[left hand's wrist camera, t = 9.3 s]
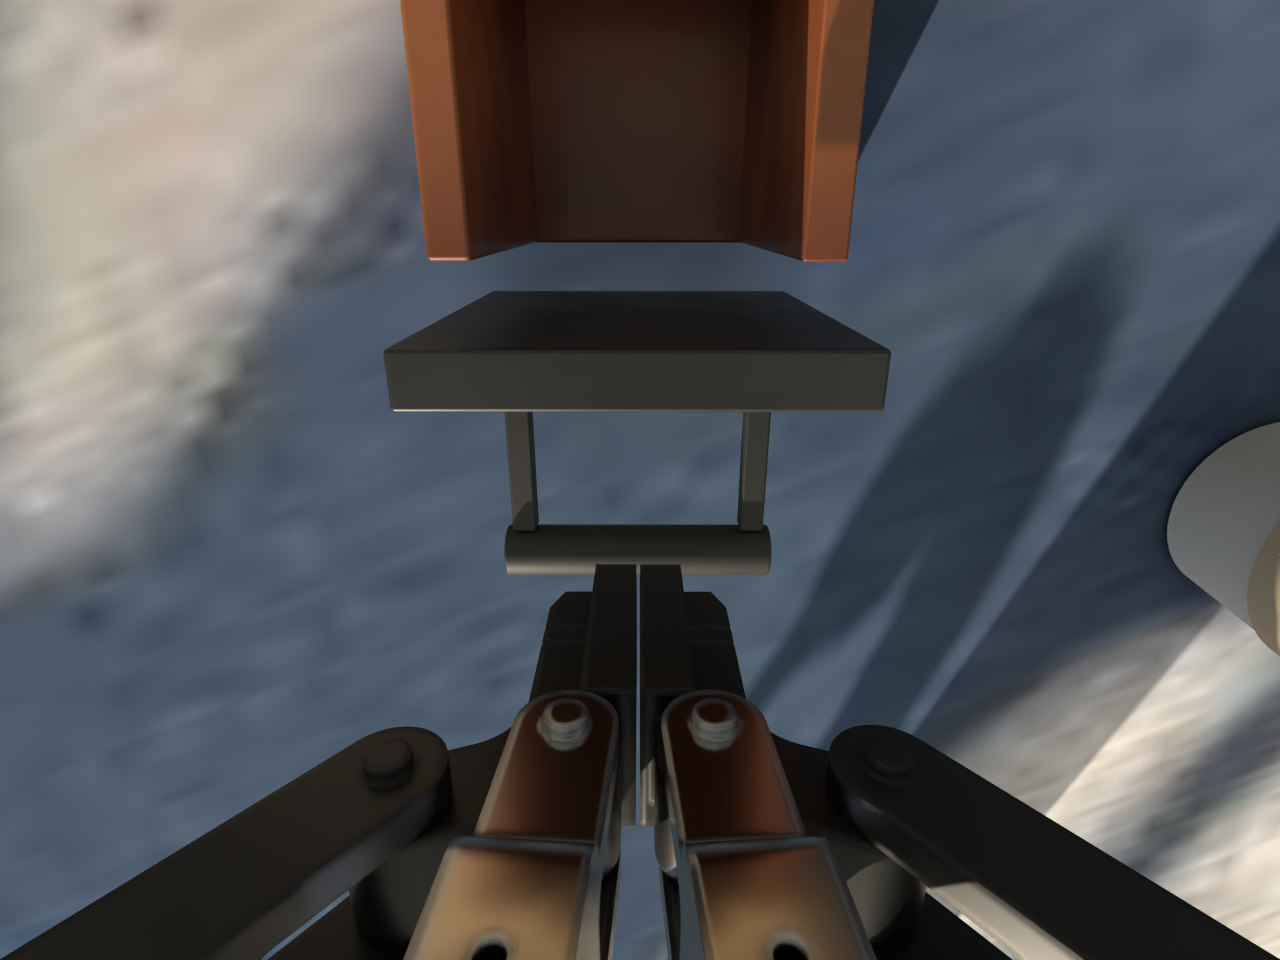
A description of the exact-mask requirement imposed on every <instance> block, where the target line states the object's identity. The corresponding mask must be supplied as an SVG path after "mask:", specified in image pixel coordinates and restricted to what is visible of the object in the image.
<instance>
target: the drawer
mask: <svg viewBox="0 0 1280 960" xmlns="http://www.w3.org/2000/svg"><path fill="white" fill-rule="evenodd" d="M400 3H401V13H402V22H403V32H404V41H405V51H406V60H407V70H408V79H409V89H410V99H411V108H412V118H413V127H414V137H415V146H416V156H417V165H418V175H419V184H420V194H421V203H422V213H423V222H424V232H425V241H426V251H427V257H428V259H429V260H431V261H470V260H473V259H477V258H481V257H484V256H488V255H491V254H495V253H498V252H502V251H505V250H509V249H512V248H516V247H519V246H523V245H526V244H530V243H533V242H741V243H745V244H748V245H751V246H755V247H758V248H761V249H765V250H768V251H771V252H775V253H778V254H782V255H785V256H788V257H792V258H795V259H798V260H802V261H805V262H845V261H847V259H848V250H849V240H850V230H851V221H852V211H853V201H854V192H855V182H856V172H857V163H858V153H859V143H860V134H861V124H862V115H863V105H864V95H865V86H866V76H867V66H868V57H869V47H870V37H871V28H872V18H873V8H874V0H400ZM383 355H384V362H385V370H386V377H387V385H388V392H389V400H390V407H391V409H392V411H395V412H505V423H506V436H507V450H508V464H509V478H510V492H511V506H512V520H513V525H509V527H508V529H507V532H506V537H505V566H506V570H507V573H508V574H510V575H595V568H596V564H636V575H640V564H680V565H681V573H682V575H767V574H768V572H769V569H770V564H771V539H770V533H769V529H768V527H767V526H766V525H763V516H764V502H765V488H766V474H767V460H768V446H769V432H770V417H771V412H880V411H883V408H884V403H885V395H886V388H887V380H888V372H889V365H890V357H891V352H890V350H889V349H887V348H885V347H883V346H882V345H880V344H878V343H876V342H874V341H872V340H871V339H869V338H867V337H865V336H863V335H862V334H860V333H858V332H856V331H854V330H853V329H851V328H849V327H847V326H845V325H843V324H842V323H840V322H838V321H836V320H834V319H833V318H831V317H829V316H827V315H825V314H823V313H822V312H820V311H818V310H816V309H814V308H813V307H811V306H809V305H807V304H805V303H804V302H802V301H800V300H798V299H796V298H794V297H793V296H791V295H789V294H787V293H785V292H783V291H493V292H491V293H489V294H487V295H485V296H484V297H482V298H480V299H478V300H476V301H474V302H472V303H471V304H469V305H467V306H465V307H463V308H461V309H459V310H458V311H456V312H454V313H452V314H450V315H448V316H446V317H445V318H443V319H441V320H439V321H437V322H435V323H433V324H432V325H430V326H428V327H426V328H424V329H422V330H420V331H419V332H417V333H415V334H413V335H411V336H409V337H407V338H406V339H404V340H402V341H400V342H398V343H396V344H394V345H392V346H391V347H389V348H387V349H385V350H384V353H383ZM532 412H743V428H742V445H741V463H740V481H739V499H738V517H737V522H738V525H538V522H539V518H538V500H537V483H536V465H535V448H534V430H533V413H532Z"/></svg>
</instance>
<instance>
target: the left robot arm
mask: <svg viewBox="0 0 1280 960" xmlns="http://www.w3.org/2000/svg"><path fill="white" fill-rule="evenodd" d="M636 684H637V576H636V564H596V568H595V576H594V584H593V592H565V593H564V594H563V595H562V596H561V597H560V598H559V599H558V600H557V601H556V602H555V603H554V604H553V605H552V606H551V607H550V611H549V615H548V620H547V624H546V630H545V633H544V637H543V645H542V646H541V651H540V655H539V659H538V664H537V668H536V673H535V677H534V681H533V686H532V690H531V694H530V699H529V703H527V704H526V705H525V706H524V707H523V708H522V709H521V710H520V711H519V713H518V714H517V716H516V718H515V720H514V722H513V725H512V727H511V728H509V729H508V730H506V731H505V732H504V733H502V734H500V735H498V736H496V737H494V738H492V739H489V740H487V741H484V742H480V743H477V744H473V745H469V746H465V747H461V748H457V749H453V750H447V747H446V744H445V743H444V741H443V740H442V739H441V738H440V737H439V736H438V735H437V734H435V733H433V732H431V731H429V730H426V729H423V728H418V727H395V728H390V729H385V730H382V731H378V732H375V733H373V734H370V735H368V736H366V737H364V738H362V739H360V740H358V741H357V742H355V743H353V744H352V745H350V746H349V747H347V748H345V749H344V750H342V751H340V752H339V753H337V754H335V755H334V756H332V757H331V758H329V759H327V760H326V761H324V762H322V763H321V764H319V765H317V766H316V767H314V768H312V769H311V770H309V771H308V772H306V773H304V774H303V775H301V776H299V777H298V778H296V779H294V780H293V781H291V782H290V783H288V784H286V785H285V786H283V787H281V788H280V789H278V790H276V791H275V792H273V793H272V794H270V795H268V796H267V797H265V798H263V799H262V800H260V801H258V802H257V803H255V804H254V805H252V806H250V807H249V808H247V809H245V810H244V811H242V812H240V813H239V814H237V815H236V816H234V817H232V818H231V819H229V820H227V821H226V822H224V823H222V824H221V825H219V826H218V827H216V828H214V829H213V830H211V831H209V832H208V833H206V834H204V835H203V836H201V837H200V838H198V839H196V840H195V841H193V842H191V843H190V844H188V845H186V846H185V847H183V848H182V849H180V850H178V851H177V852H175V853H173V854H172V855H170V856H168V857H167V858H165V859H164V860H162V861H160V862H159V863H157V864H155V865H154V866H152V867H150V868H149V869H147V870H146V871H144V872H142V873H141V874H139V875H137V876H136V877H134V878H132V879H131V880H129V881H128V882H126V883H124V884H123V885H121V886H119V887H118V888H116V889H114V890H113V891H111V892H109V893H108V894H106V895H105V896H103V897H101V898H100V899H98V900H96V901H95V902H93V903H91V904H90V905H88V906H87V907H85V908H83V909H82V910H80V911H78V912H77V913H75V914H73V915H72V916H70V917H69V918H67V919H65V920H64V921H62V922H60V923H59V924H57V925H55V926H54V927H52V928H51V929H49V930H47V931H46V932H44V933H42V934H41V935H39V936H37V937H36V938H34V939H33V940H31V941H29V942H28V943H26V944H24V945H23V946H21V947H19V948H18V949H16V950H15V951H13V952H11V953H10V954H8V955H6V956H5V957H3V958H1V959H0V960H261V959H262V958H263V957H264V956H265V955H266V954H267V953H268V952H269V951H270V950H272V949H273V948H274V947H275V946H277V945H278V944H279V943H280V942H282V941H283V940H284V939H286V938H287V937H288V936H290V935H291V934H292V933H293V932H295V931H296V930H297V929H299V928H300V927H301V926H302V925H304V924H305V923H306V922H308V921H309V920H310V919H311V918H313V917H314V916H315V915H317V914H318V913H319V912H320V911H322V910H323V909H324V908H326V907H327V906H328V905H330V904H331V903H332V902H333V901H335V900H336V899H337V898H339V897H340V896H341V895H342V894H344V893H345V892H346V891H348V890H349V893H350V896H348V897H347V898H346V899H345V900H343V901H342V902H341V903H339V904H338V905H337V906H336V907H334V908H333V909H332V910H330V911H329V912H328V913H327V914H325V915H324V916H323V917H322V918H320V919H319V920H318V921H316V922H315V923H314V924H313V925H311V926H310V927H309V928H307V929H306V930H305V931H304V932H302V933H301V934H300V935H299V936H297V937H296V938H295V939H293V940H292V941H291V942H290V943H288V944H287V945H286V946H284V947H283V948H282V949H281V950H279V951H278V952H277V953H276V954H274V955H273V956H272V957H270V958H269V959H268V960H612V952H613V943H614V934H615V926H616V917H617V908H618V899H619V890H620V881H621V856H620V846H621V825H635V817H636ZM640 826H654V838H655V854H656V858H657V861H658V863H659V881H660V890H661V899H662V908H663V917H664V926H665V934H666V943H667V952H668V960H1012V959H1011V958H1010V957H1008V956H1007V955H1006V954H1004V953H1003V952H1002V951H1001V950H999V949H998V948H997V947H996V946H994V945H993V944H992V943H990V942H989V941H988V940H987V939H985V938H984V937H983V936H981V935H980V934H979V933H978V932H976V931H975V930H974V929H973V928H971V927H970V926H969V925H967V924H966V923H965V922H964V921H962V920H961V919H960V918H958V917H957V916H956V915H955V914H953V913H952V912H951V911H950V910H948V909H947V908H946V907H944V906H943V905H942V904H941V903H939V902H938V901H937V900H935V899H934V898H933V897H932V896H930V895H929V894H928V893H927V892H926V887H929V888H930V889H931V890H932V891H934V892H935V893H936V894H938V895H939V896H940V897H941V898H943V899H944V900H945V901H947V902H948V903H949V904H950V905H952V906H953V907H954V908H956V909H957V910H958V911H959V912H961V913H962V914H963V915H965V916H966V917H967V918H969V919H970V920H971V921H972V922H974V923H975V924H976V925H978V926H979V927H980V928H981V929H983V930H984V931H985V932H987V933H988V934H989V935H990V936H992V937H993V938H994V939H996V940H997V941H998V942H999V943H1001V944H1002V945H1003V946H1004V947H1006V948H1007V949H1008V950H1009V951H1010V952H1011V953H1012V954H1013V955H1014V956H1015V957H1016V958H1017V959H1018V960H1280V959H1279V958H1277V957H1275V956H1274V955H1272V954H1270V953H1269V952H1267V951H1265V950H1264V949H1262V948H1261V947H1259V946H1257V945H1256V944H1254V943H1252V942H1251V941H1249V940H1247V939H1246V938H1244V937H1243V936H1241V935H1239V934H1238V933H1236V932H1234V931H1233V930H1231V929H1229V928H1228V927H1226V926H1225V925H1223V924H1221V923H1220V922H1218V921H1216V920H1215V919H1213V918H1211V917H1210V916H1208V915H1206V914H1205V913H1203V912H1202V911H1200V910H1198V909H1197V908H1195V907H1193V906H1192V905H1190V904H1188V903H1187V902H1185V901H1184V900H1182V899H1180V898H1179V897H1177V896H1175V895H1174V894H1172V893H1170V892H1169V891H1167V890H1166V889H1164V888H1162V887H1161V886H1159V885H1157V884H1156V883H1154V882H1152V881H1151V880H1149V879H1148V878H1146V877H1144V876H1143V875H1141V874H1139V873H1138V872H1136V871H1134V870H1133V869H1131V868H1130V867H1128V866H1126V865H1125V864H1123V863H1121V862H1120V861H1118V860H1116V859H1115V858H1113V857H1112V856H1110V855H1108V854H1107V853H1105V852H1103V851H1102V850H1100V849H1098V848H1097V847H1095V846H1094V845H1092V844H1090V843H1089V842H1087V841H1085V840H1084V839H1082V838H1080V837H1079V836H1077V835H1076V834H1074V833H1072V832H1071V831H1069V830H1067V829H1066V828H1064V827H1062V826H1061V825H1059V824H1058V823H1056V822H1054V821H1053V820H1051V819H1049V818H1048V817H1046V816H1044V815H1043V814H1041V813H1040V812H1038V811H1036V810H1035V809H1033V808H1031V807H1030V806H1028V805H1026V804H1025V803H1023V802H1022V801H1020V800H1018V799H1017V798H1015V797H1013V796H1012V795H1010V794H1008V793H1007V792H1005V791H1003V790H1002V789H1000V788H999V787H997V786H995V785H994V784H992V783H990V782H989V781H987V780H985V779H984V778H982V777H981V776H979V775H977V774H976V773H974V772H972V771H971V770H969V769H967V768H966V767H964V766H963V765H961V764H959V763H958V762H956V761H954V760H953V759H951V758H949V757H948V756H946V755H945V754H943V753H941V752H940V751H938V750H936V749H935V748H933V747H931V746H930V745H928V744H927V743H925V742H923V741H922V740H920V739H918V738H916V737H914V736H913V735H911V734H908V733H906V732H904V731H901V730H898V729H894V728H891V727H886V726H879V725H862V726H856V727H852V728H849V729H847V730H845V731H843V732H841V733H840V734H839V735H838V736H837V737H835V739H834V740H833V742H832V744H831V747H830V751H825V750H821V749H817V748H813V747H809V746H805V745H801V744H797V743H794V742H790V741H788V740H785V739H783V738H780V737H779V736H777V735H775V734H773V733H771V732H770V730H769V728H768V725H767V722H766V720H765V718H764V716H763V714H762V713H761V711H760V710H759V709H758V708H757V707H756V706H755V705H754V704H753V703H751V702H750V701H748V700H747V699H746V697H745V692H744V688H743V683H742V679H741V674H740V669H739V665H738V660H737V656H736V651H735V647H734V645H733V637H732V633H731V630H730V624H729V619H728V615H727V610H726V607H725V606H724V605H723V604H722V603H721V602H720V601H719V600H718V599H717V598H716V597H715V596H714V595H713V594H712V593H711V592H684V590H683V582H682V573H681V565H680V564H640Z"/></svg>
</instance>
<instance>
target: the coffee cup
mask: <svg viewBox="0 0 1280 960" xmlns="http://www.w3.org/2000/svg"><path fill="white" fill-rule="evenodd" d="M1167 541H1168V547H1169V551H1170V554H1171V557H1172V559H1173V561H1174V562H1175V564H1176V566H1177V567H1178V568H1179V569H1180V571H1181V572H1182V573H1183V574H1184V575H1186V576H1187V577H1188V578H1189V579H1191V580H1192V581H1193V582H1194V583H1196V584H1197V585H1198V586H1199V587H1201V588H1202V589H1203V590H1204V591H1206V592H1207V593H1208V594H1209V595H1211V596H1212V597H1213V598H1214V599H1216V600H1217V601H1218V602H1220V603H1221V604H1222V605H1223V606H1225V607H1226V608H1227V609H1228V610H1230V611H1231V612H1232V613H1233V614H1235V615H1236V616H1237V617H1238V618H1240V619H1241V620H1242V621H1243V622H1245V623H1246V624H1247V625H1249V626H1250V627H1251V628H1252V629H1254V630H1255V631H1256V633H1257V635H1258V636H1259V638H1260V639H1261V640H1262V641H1263V642H1264V643H1265V644H1266V645H1267V646H1268V647H1269V648H1270V649H1271V650H1272V651H1274V652H1275V653H1276V654H1277V655H1279V656H1280V422H1278V423H1273V424H1269V425H1265V426H1262V427H1259V428H1256V429H1253V430H1251V431H1248V432H1246V433H1244V434H1242V435H1240V436H1238V437H1236V438H1234V439H1232V440H1231V441H1229V442H1227V443H1226V444H1224V445H1223V446H1221V447H1220V448H1219V449H1217V450H1216V451H1215V452H1213V453H1212V454H1211V455H1210V456H1208V457H1207V458H1206V459H1205V460H1204V461H1203V462H1202V463H1201V464H1200V465H1199V466H1198V467H1197V468H1196V469H1195V470H1194V472H1193V473H1192V474H1191V475H1190V476H1189V478H1188V479H1187V480H1186V482H1185V483H1184V485H1183V486H1182V488H1181V490H1180V491H1179V493H1178V495H1177V497H1176V499H1175V501H1174V504H1173V506H1172V509H1171V512H1170V516H1169V520H1168V526H1167Z"/></svg>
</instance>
